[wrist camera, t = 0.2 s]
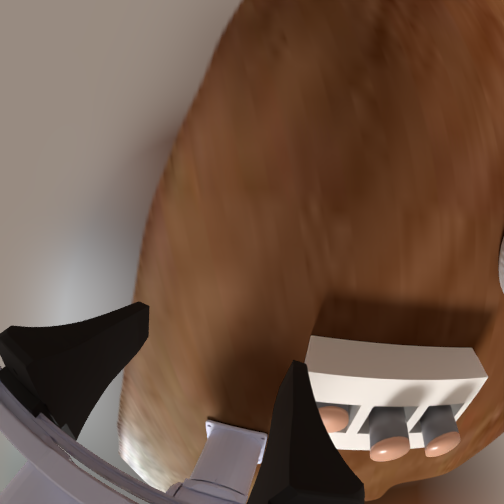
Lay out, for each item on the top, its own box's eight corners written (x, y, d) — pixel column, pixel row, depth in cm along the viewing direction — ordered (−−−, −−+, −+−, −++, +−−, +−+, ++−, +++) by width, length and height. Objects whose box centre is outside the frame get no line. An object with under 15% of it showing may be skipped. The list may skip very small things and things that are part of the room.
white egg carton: (427, 417, 23) (434, 449, 18) (291, 411, 26) (284, 447, 21) (471, 347, 19) (489, 380, 14) (310, 335, 22) (306, 376, 18)
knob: (439, 420, 18) (447, 454, 14) (413, 422, 19) (419, 458, 15) (455, 398, 17) (467, 434, 13) (428, 400, 18) (437, 439, 14)
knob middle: (395, 422, 20) (399, 460, 15) (363, 422, 20) (364, 461, 16) (409, 400, 18) (417, 441, 14) (376, 400, 19) (379, 442, 15)
